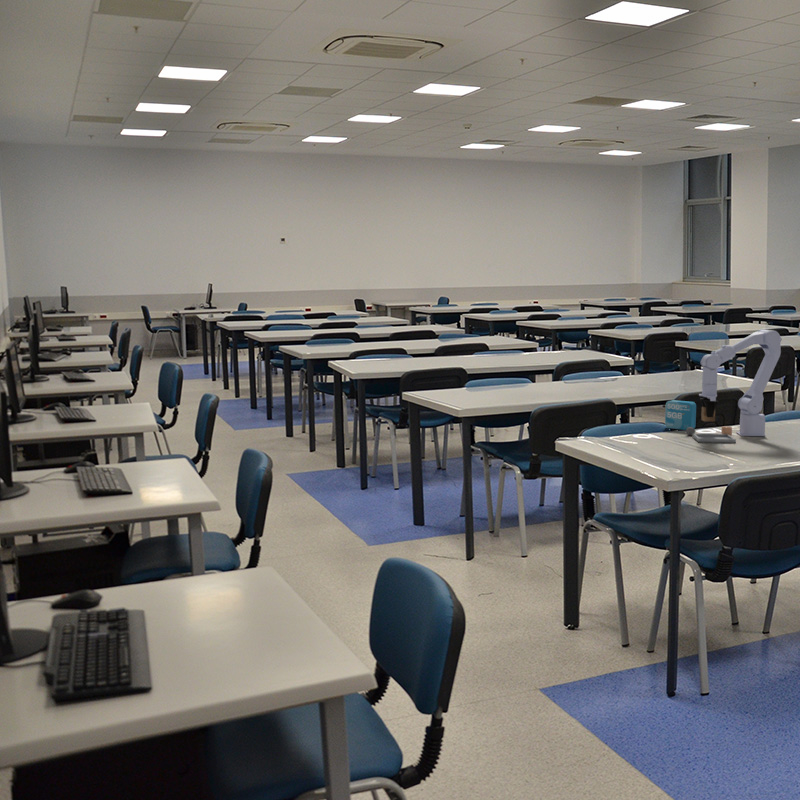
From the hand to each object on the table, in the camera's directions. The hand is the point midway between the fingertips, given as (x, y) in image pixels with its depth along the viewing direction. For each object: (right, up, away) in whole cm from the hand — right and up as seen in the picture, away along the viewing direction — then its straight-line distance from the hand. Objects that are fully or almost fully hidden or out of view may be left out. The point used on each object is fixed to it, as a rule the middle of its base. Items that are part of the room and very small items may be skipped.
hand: (708, 416), depth 344 cm
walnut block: (0, -2, 0) cm, 2 cm away
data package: (-5, -6, +19) cm, 21 cm away
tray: (-2, -9, -10) cm, 14 cm away
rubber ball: (-7, -8, +2) cm, 11 cm away
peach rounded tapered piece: (+7, -8, -2) cm, 11 cm away
